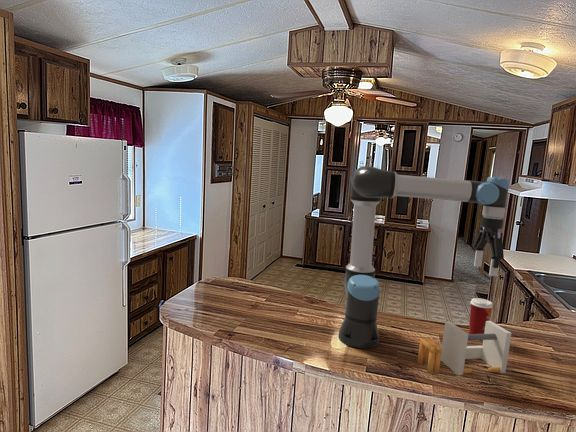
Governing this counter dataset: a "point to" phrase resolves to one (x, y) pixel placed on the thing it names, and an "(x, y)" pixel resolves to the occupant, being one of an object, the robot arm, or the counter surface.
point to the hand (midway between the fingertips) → (484, 271)
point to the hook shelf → (475, 347)
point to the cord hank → (429, 355)
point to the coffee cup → (479, 315)
